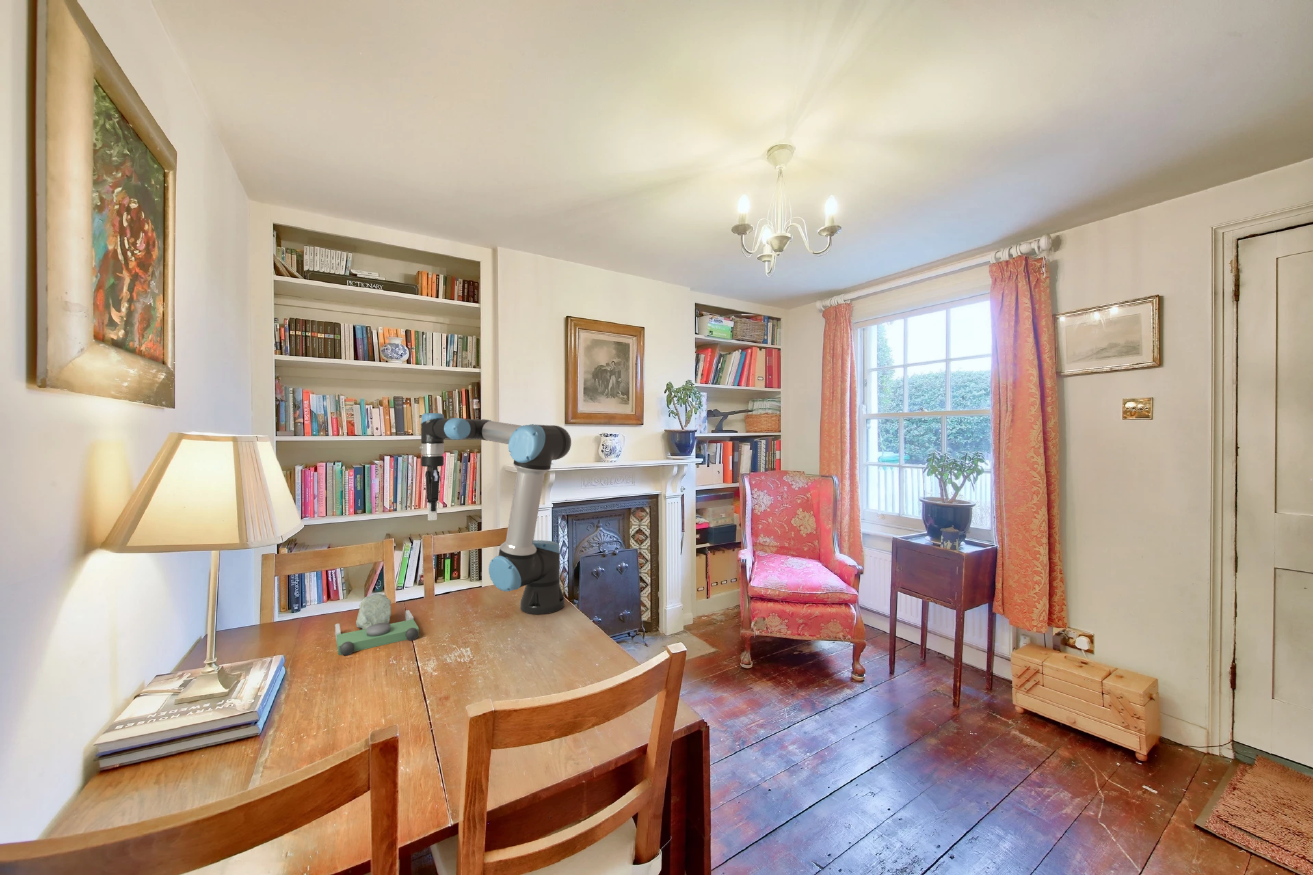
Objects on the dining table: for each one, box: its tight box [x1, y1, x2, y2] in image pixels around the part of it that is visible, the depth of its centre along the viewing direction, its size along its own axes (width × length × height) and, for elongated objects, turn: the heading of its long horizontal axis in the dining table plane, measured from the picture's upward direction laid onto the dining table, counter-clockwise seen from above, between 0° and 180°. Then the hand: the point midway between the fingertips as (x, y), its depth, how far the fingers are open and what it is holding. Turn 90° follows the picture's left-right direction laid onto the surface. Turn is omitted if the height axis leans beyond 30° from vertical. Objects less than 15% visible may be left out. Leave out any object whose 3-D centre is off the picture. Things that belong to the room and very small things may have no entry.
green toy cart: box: [334, 609, 420, 656], centre depth 141 cm, size 20×19×4 cm
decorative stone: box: [355, 593, 392, 630], centre depth 148 cm, size 13×11×10 cm
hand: (432, 519), depth 173 cm, fingers closed
